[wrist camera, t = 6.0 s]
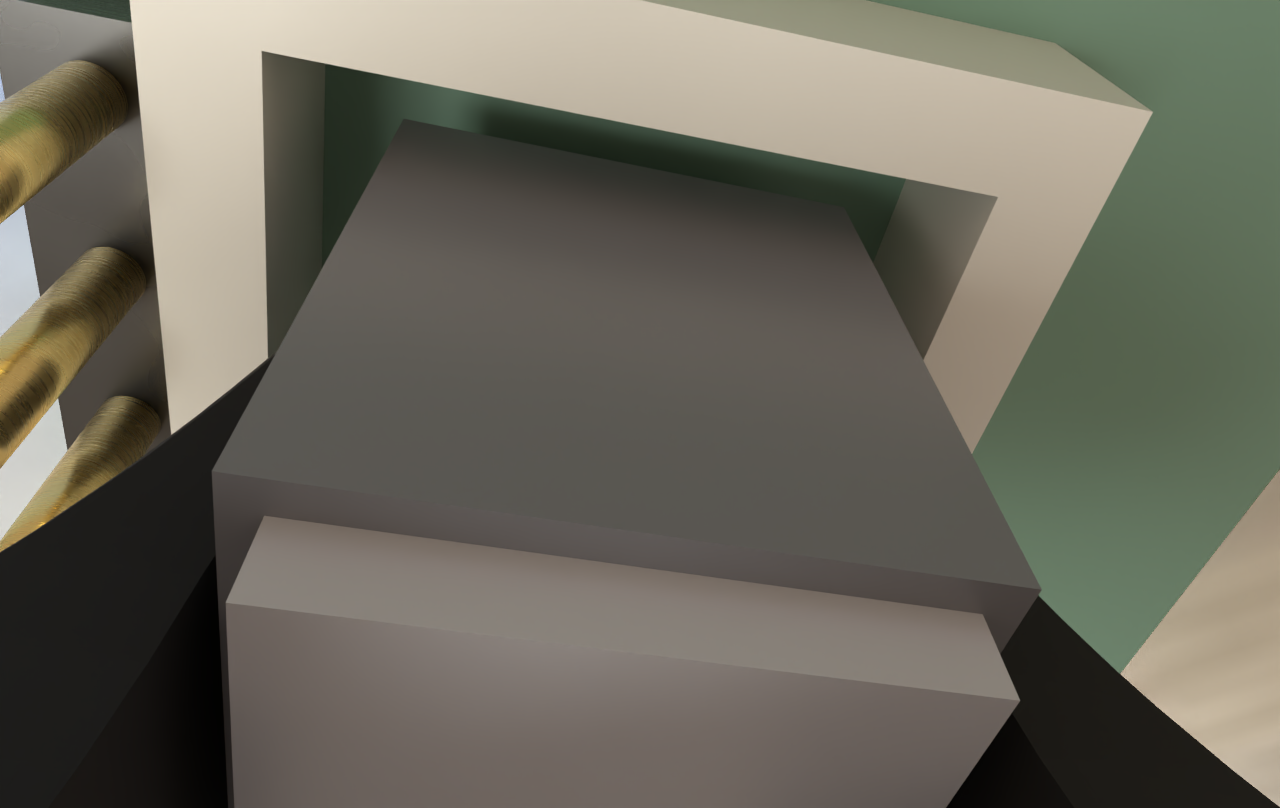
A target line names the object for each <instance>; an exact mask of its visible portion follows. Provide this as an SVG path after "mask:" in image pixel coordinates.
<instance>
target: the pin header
mask: <svg viewBox="0 0 1280 808" xmlns="http://www.w3.org/2000/svg"><path fill="white" fill-rule="evenodd" d="M0 73H1V79H2V84H3V90H4V95H5V100H4V101H2V102H1V103H0V224H1V223H2V222H3V221H4V220H5V219H7V218H8V217H9V216H10V215H12V214H13V213H14V212H15V211H16V210H18V209H19V208H20V207H21V206H22V205H24V208H25V213H26V219H27V225H28V230H29V236H30V242H31V247H32V253H33V258H34V264H35V270H36V275H37V281H38V287H39V292H40V298H39V299H38V300H37V301H36V302H35V303H34V304H33V305H32V306H31V307H30V308H29V309H28V310H27V311H26V312H25V313H24V314H23V315H22V316H21V317H20V318H19V319H18V320H17V321H16V322H15V323H14V324H13V325H12V326H11V327H10V328H9V329H8V330H7V331H6V332H5V333H4V334H3V335H2V336H1V337H0V468H1V467H2V466H3V465H4V463H5V462H6V461H7V460H8V459H9V457H10V456H11V455H12V454H13V452H14V451H15V450H16V449H17V447H18V446H19V445H20V444H21V443H22V441H23V440H24V439H25V438H26V436H27V435H28V434H29V433H30V432H31V430H32V429H33V428H34V427H35V425H36V424H37V423H38V422H39V421H40V419H41V418H42V417H43V416H44V414H45V413H46V412H47V411H48V410H49V408H50V407H51V406H52V405H53V403H54V402H55V401H56V400H57V399H59V405H60V410H61V416H62V421H63V427H64V433H65V438H66V444H67V449H68V451H67V452H66V453H65V455H64V456H63V458H62V459H61V460H60V462H59V463H58V464H57V466H56V467H55V468H54V470H53V471H52V472H51V474H50V475H49V476H48V478H47V479H46V480H45V482H44V483H43V484H42V486H41V487H40V488H39V490H38V491H37V492H36V494H35V495H34V497H33V498H32V499H31V501H30V502H29V503H28V505H27V506H26V507H25V509H24V510H23V511H22V513H21V514H20V515H19V517H18V518H17V519H16V521H15V522H14V523H13V525H12V526H11V527H10V529H9V530H8V531H7V533H6V534H5V535H4V537H3V538H2V540H1V541H0V552H1V551H3V550H4V549H6V548H7V547H9V546H11V545H12V544H14V543H16V542H17V541H19V540H20V539H22V538H24V537H25V536H27V535H28V534H30V533H31V532H33V531H35V530H36V529H38V528H39V527H41V526H42V525H44V524H45V523H47V522H48V521H50V520H51V519H53V518H54V517H56V516H57V515H58V514H60V513H61V512H63V511H64V510H66V509H67V508H69V507H70V506H72V505H73V504H75V503H76V502H78V501H79V500H81V499H82V498H84V497H85V496H87V495H88V494H90V493H91V492H93V491H94V490H96V489H97V488H99V487H100V486H102V485H103V484H105V483H106V482H107V481H109V480H110V479H112V478H113V477H115V476H116V475H118V474H119V473H121V472H122V471H123V470H125V469H126V468H128V467H129V466H130V465H132V464H133V463H135V462H136V461H137V460H139V459H140V458H141V457H143V456H144V455H145V454H147V453H148V452H149V451H151V450H152V449H153V448H155V447H156V446H157V445H159V444H160V443H161V442H163V441H164V440H165V439H167V438H168V437H169V436H171V427H170V416H169V406H168V395H167V385H166V375H165V364H164V354H163V343H162V333H161V323H160V312H159V302H158V291H157V281H156V270H155V260H154V250H153V239H152V229H151V218H150V208H149V197H148V187H147V177H146V166H145V156H144V145H143V135H142V124H141V114H140V104H139V93H138V83H137V72H136V62H135V51H134V41H133V31H132V20H131V10H130V0H0Z"/></svg>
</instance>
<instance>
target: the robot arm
mask: <svg viewBox="0 0 1280 808" xmlns="http://www.w3.org/2000/svg"><path fill="white" fill-rule="evenodd" d="M275 354H276V352H275V353H274V354H273V355H272V356H270V357H269V358H268V359H267V360H265V361H264V362H263V363H262V364H260V365H259V366H258V367H257V368H256V369H254V370H253V371H252V372H251V373H249V374H248V375H247V376H246V377H245V378H243V379H242V380H241V381H240V382H238V383H237V384H236V385H235V386H234V387H232V388H231V389H230V390H229V391H227V392H226V393H225V394H224V395H222V396H221V397H220V398H219V399H217V400H216V401H215V402H213V403H212V404H211V405H210V406H208V407H207V408H206V409H205V410H203V411H202V412H201V413H200V414H198V415H197V416H196V417H195V418H193V419H192V420H191V421H189V422H188V423H187V424H185V425H184V426H183V427H181V428H180V429H179V430H177V431H176V432H175V433H173V434H172V435H171V436H169V437H168V438H167V439H165V440H164V441H163V442H161V443H160V444H159V445H157V446H156V447H155V448H153V449H152V450H151V451H149V452H148V453H147V454H145V455H144V456H143V457H141V458H140V459H139V460H137V461H136V462H135V463H133V464H132V465H130V466H129V467H128V468H126V469H125V470H123V471H122V472H121V473H119V474H118V475H116V476H115V477H113V478H112V479H110V480H109V481H107V482H106V483H105V484H103V485H102V486H100V487H99V488H97V489H96V490H94V491H93V492H91V493H90V494H88V495H87V496H85V497H84V498H82V499H81V500H79V501H78V502H76V503H75V504H73V505H72V506H70V507H69V508H67V509H66V510H64V511H63V512H61V513H60V514H58V515H57V516H56V517H54V518H53V519H51V520H50V521H48V522H47V523H45V524H44V525H42V526H41V527H39V528H38V529H36V530H35V531H33V532H31V533H30V534H28V535H27V536H25V537H24V538H22V539H20V540H19V541H17V542H16V543H14V544H12V545H11V546H9V547H7V548H6V549H4V550H3V551H1V552H0V808H228V795H227V774H226V754H225V733H224V713H223V692H222V672H221V651H220V631H219V610H218V590H217V569H216V549H215V528H214V508H213V487H212V470H213V468H214V466H215V464H216V462H217V461H218V459H219V457H220V455H221V453H222V451H223V450H224V448H225V446H226V444H227V442H228V440H229V439H230V437H231V435H232V433H233V431H234V429H235V428H236V426H237V424H238V422H239V420H240V418H241V417H242V415H243V413H244V411H245V409H246V407H247V405H248V404H249V402H250V400H251V398H252V396H253V394H254V393H255V391H256V389H257V387H258V385H259V383H260V382H261V380H262V378H263V376H264V374H265V372H266V371H267V369H268V367H269V365H270V363H271V361H272V360H273V358H274V356H275ZM1000 655H1001V658H1002V660H1003V662H1004V664H1005V667H1006V669H1007V671H1008V674H1009V676H1010V678H1011V681H1012V683H1013V685H1014V688H1015V690H1016V692H1017V694H1018V697H1019V699H1020V702H1019V703H1018V705H1017V706H1016V707H1015V709H1014V710H1013V712H1012V713H1011V715H1010V716H1009V718H1008V719H1007V720H1006V722H1005V723H1004V725H1003V726H1002V728H1001V729H1000V731H999V732H998V733H997V735H996V736H995V738H994V739H993V741H992V742H991V743H990V745H989V746H988V748H987V749H986V751H985V752H984V754H983V755H982V756H981V758H980V759H979V761H978V762H977V764H976V765H975V767H974V768H973V769H972V771H971V772H970V774H969V775H968V777H967V778H966V779H965V781H964V782H963V784H962V785H961V787H960V788H959V790H958V791H957V792H956V794H955V795H954V797H953V798H952V800H951V801H950V803H949V804H948V805H947V807H946V808H1280V807H1279V806H1277V805H1276V804H1275V803H1274V802H1272V801H1271V800H1270V799H1268V798H1267V797H1266V796H1265V795H1263V794H1262V793H1261V792H1260V791H1258V790H1257V789H1256V788H1254V787H1253V786H1252V785H1251V784H1249V783H1248V782H1247V781H1245V780H1244V779H1243V778H1242V777H1240V776H1239V775H1238V774H1237V773H1235V772H1234V771H1233V770H1232V769H1230V768H1229V767H1228V766H1227V765H1226V764H1224V763H1223V762H1222V761H1221V760H1220V759H1218V758H1217V757H1216V756H1215V755H1214V754H1212V753H1211V752H1210V751H1209V750H1208V749H1206V748H1205V747H1204V746H1203V745H1202V744H1200V743H1199V742H1198V741H1197V740H1196V739H1195V738H1193V737H1192V736H1191V735H1190V734H1189V733H1187V732H1186V731H1185V730H1184V729H1183V728H1181V727H1180V726H1179V725H1178V724H1177V723H1175V722H1174V721H1173V720H1172V719H1171V718H1169V717H1168V716H1167V715H1166V714H1165V713H1164V712H1162V711H1161V710H1160V709H1159V708H1158V707H1156V706H1155V705H1154V704H1153V703H1152V702H1151V701H1150V700H1148V699H1147V698H1146V697H1145V696H1144V695H1143V694H1142V693H1141V692H1139V691H1138V690H1137V689H1136V688H1135V687H1134V686H1133V685H1132V684H1130V683H1129V682H1128V681H1127V680H1126V679H1125V678H1124V677H1123V676H1122V675H1121V674H1119V673H1118V672H1117V671H1116V670H1115V669H1114V668H1113V667H1112V666H1111V665H1110V664H1109V663H1108V662H1107V661H1106V660H1105V659H1104V658H1103V657H1101V656H1100V655H1099V654H1098V653H1097V652H1096V651H1095V650H1094V649H1093V648H1092V647H1091V646H1090V645H1089V644H1088V643H1087V642H1086V641H1085V640H1084V639H1083V638H1081V637H1080V636H1079V635H1078V634H1077V633H1076V632H1075V631H1074V630H1073V629H1072V628H1071V627H1070V626H1069V625H1068V624H1067V623H1066V622H1065V621H1064V620H1063V619H1062V618H1061V617H1060V616H1059V615H1058V614H1057V613H1056V612H1055V611H1054V610H1053V609H1052V608H1051V607H1050V606H1049V605H1048V604H1047V603H1046V602H1045V601H1044V600H1043V599H1042V598H1041V597H1040V596H1039V595H1038V596H1037V598H1036V600H1035V601H1034V603H1033V604H1032V606H1031V607H1030V609H1029V610H1028V612H1027V613H1026V615H1025V617H1024V618H1023V620H1022V621H1021V623H1020V624H1019V626H1018V627H1017V629H1016V630H1015V632H1014V634H1013V635H1012V637H1011V638H1010V640H1009V641H1008V643H1007V644H1006V646H1005V647H1004V649H1003V651H1002V652H1001V654H1000Z"/></svg>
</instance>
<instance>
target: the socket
mask: <svg viewBox="0 0 1280 808" xmlns="http://www.w3.org/2000/svg"><path fill="white" fill-rule="evenodd" d="M130 10H131V20H132V31H133V41H134V51H135V62H136V72H137V83H138V93H139V104H140V114H141V124H142V135H143V145H144V156H145V166H146V177H147V187H148V197H149V208H150V218H151V229H152V239H153V250H154V260H155V270H156V281H157V291H158V302H159V312H160V323H161V333H162V343H163V354H164V364H165V375H166V385H167V395H168V406H169V416H170V427H171V435H172V434H173V433H175V432H176V431H177V430H179V429H180V428H181V427H183V426H184V425H185V424H187V423H188V422H189V421H191V420H192V419H193V418H195V417H196V416H197V415H198V414H200V413H201V412H202V411H203V410H205V409H206V408H207V407H208V406H210V405H211V404H212V403H213V402H215V401H216V400H217V399H219V398H220V397H221V396H222V395H224V394H225V393H226V392H227V391H229V390H230V389H231V388H232V387H234V386H235V385H236V384H237V383H238V382H240V381H241V380H242V379H243V378H245V377H246V376H247V375H248V374H249V373H251V372H252V371H253V370H254V369H256V368H257V367H258V366H259V365H260V364H262V363H263V362H264V361H265V360H267V359H268V358H269V357H270V356H272V355H273V354H274V353H275V352H277V350H278V349H279V347H280V345H281V343H282V341H283V339H284V338H285V336H286V334H287V332H288V330H289V328H290V326H291V325H292V323H293V321H294V319H295V317H296V315H297V314H298V312H299V310H300V308H301V306H302V304H303V303H304V301H305V299H306V297H307V295H308V293H309V292H310V290H311V288H312V286H313V284H314V282H315V281H316V279H317V277H318V275H319V273H320V271H321V270H322V222H323V165H324V109H325V64H330V65H335V66H340V67H345V68H350V69H355V70H360V71H365V72H371V73H376V74H381V75H386V76H391V77H396V78H401V79H406V80H411V81H416V82H421V83H426V84H431V85H436V86H441V87H446V88H451V89H456V90H461V91H466V92H471V93H476V94H481V95H486V96H492V97H497V98H502V99H507V100H512V101H517V102H522V103H527V104H532V105H537V106H542V107H547V108H552V109H557V110H562V111H567V112H572V113H577V114H582V115H587V116H592V117H597V118H602V119H607V120H613V121H618V122H623V123H628V124H633V125H638V126H643V127H648V128H653V129H658V130H663V131H668V132H673V133H678V134H683V135H688V136H693V137H698V138H703V139H708V140H713V141H718V142H723V143H728V144H734V145H739V146H744V147H749V148H754V149H759V150H764V151H769V152H774V153H779V154H784V155H789V156H794V157H799V158H804V159H809V160H814V161H819V162H824V163H829V164H834V165H839V166H844V167H849V168H855V169H860V170H865V171H870V172H875V173H880V174H885V175H890V176H895V177H900V178H905V179H906V181H905V183H904V186H903V188H902V191H901V194H900V196H899V199H898V201H897V204H896V206H895V209H894V211H893V214H892V216H891V219H890V221H889V224H888V227H887V229H886V232H885V234H884V237H883V239H882V242H881V244H880V247H879V249H878V252H877V255H876V257H875V260H874V262H873V264H874V266H875V268H876V270H877V272H878V274H879V276H880V278H881V280H882V282H883V284H884V286H885V288H886V289H887V291H888V293H889V295H890V297H891V299H892V301H893V303H894V305H895V307H896V309H897V311H898V313H899V315H900V316H901V318H902V320H903V322H904V324H905V326H906V328H907V330H908V332H909V334H910V336H911V338H912V340H913V342H914V344H915V345H916V347H917V349H918V351H919V353H920V355H921V357H922V359H923V361H924V363H925V365H926V367H927V369H928V371H929V373H930V374H931V376H932V378H933V380H934V382H935V384H936V386H937V388H938V390H939V392H940V394H941V396H942V398H943V400H944V402H945V403H946V405H947V407H948V409H949V411H950V413H951V415H952V417H953V419H954V421H955V423H956V425H957V427H958V429H959V431H960V432H961V434H962V436H963V438H964V440H965V442H966V444H967V446H968V448H969V450H970V452H971V454H972V453H973V451H974V449H975V447H976V445H977V444H978V442H979V440H980V438H981V436H982V434H983V432H984V430H985V428H986V427H987V425H988V423H989V421H990V419H991V417H992V415H993V413H994V411H995V410H996V408H997V406H998V404H999V402H1000V400H1001V398H1002V396H1003V394H1004V393H1005V391H1006V389H1007V387H1008V385H1009V383H1010V381H1011V379H1012V377H1013V376H1014V374H1015V372H1016V370H1017V368H1018V366H1019V364H1020V362H1021V360H1022V359H1023V357H1024V355H1025V353H1026V351H1027V349H1028V347H1029V345H1030V343H1031V342H1032V340H1033V338H1034V336H1035V334H1036V332H1037V330H1038V328H1039V326H1040V325H1041V323H1042V321H1043V319H1044V317H1045V315H1046V313H1047V311H1048V309H1049V308H1050V306H1051V304H1052V302H1053V300H1054V298H1055V296H1056V294H1057V292H1058V291H1059V289H1060V287H1061V285H1062V283H1063V281H1064V279H1065V277H1066V275H1067V274H1068V272H1069V270H1070V268H1071V266H1072V264H1073V262H1074V260H1075V258H1076V257H1077V255H1078V253H1079V251H1080V249H1081V247H1082V245H1083V243H1084V241H1085V240H1086V238H1087V236H1088V234H1089V232H1090V230H1091V228H1092V226H1093V224H1094V223H1095V221H1096V219H1097V217H1098V215H1099V213H1100V211H1101V209H1102V207H1103V206H1104V204H1105V202H1106V200H1107V198H1108V196H1109V194H1110V192H1111V190H1112V189H1113V187H1114V185H1115V183H1116V181H1117V179H1118V177H1119V175H1120V173H1121V172H1122V170H1123V168H1124V166H1125V164H1126V162H1127V160H1128V158H1129V156H1130V155H1131V153H1132V151H1133V149H1134V147H1135V145H1136V143H1137V141H1138V139H1139V138H1140V136H1141V134H1142V132H1143V130H1144V128H1145V126H1146V124H1147V122H1148V121H1149V119H1150V117H1151V115H1152V113H1153V112H1152V111H1151V110H1150V109H1148V108H1147V107H1145V106H1144V105H1142V104H1141V103H1140V102H1138V101H1137V100H1135V99H1134V98H1133V97H1131V96H1130V95H1128V94H1127V93H1125V92H1124V91H1123V90H1121V89H1120V88H1118V87H1117V86H1115V85H1114V84H1113V83H1111V82H1110V81H1108V80H1107V79H1106V78H1104V77H1103V76H1101V75H1100V74H1098V73H1097V72H1096V71H1094V70H1093V69H1091V68H1090V67H1088V66H1087V65H1086V64H1084V63H1083V62H1081V61H1080V60H1079V59H1077V58H1076V57H1074V56H1073V55H1071V54H1070V53H1069V52H1067V51H1066V50H1064V49H1063V48H1062V47H1060V46H1059V45H1057V44H1056V43H1053V42H1048V41H1044V40H1040V39H1035V38H1031V37H1026V36H1022V35H1017V34H1013V33H1009V32H1004V31H1000V30H995V29H991V28H987V27H982V26H978V25H973V24H969V23H964V22H960V21H956V20H951V19H947V18H942V17H938V16H933V15H929V14H925V13H920V12H916V11H911V10H907V9H902V8H898V7H894V6H889V5H885V4H880V3H876V2H871V1H867V0H130Z"/></svg>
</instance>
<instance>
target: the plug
mask: <svg viewBox="0 0 1280 808" xmlns="http://www.w3.org/2000/svg"><path fill="white" fill-rule="evenodd" d="M212 487H213V508H214V528H215V549H216V569H217V590H218V610H219V631H220V651H221V672H222V692H223V713H224V733H225V754H226V774H227V795H228V808H946V807H947V805H948V804H949V803H950V801H951V800H952V798H953V797H954V795H955V794H956V792H957V791H958V790H959V788H960V787H961V785H962V784H963V782H964V781H965V779H966V778H967V777H968V775H969V774H970V772H971V771H972V769H973V768H974V767H975V765H976V764H977V762H978V761H979V759H980V758H981V756H982V755H983V754H984V752H985V751H986V749H987V748H988V746H989V745H990V743H991V742H992V741H993V739H994V738H995V736H996V735H997V733H998V732H999V731H1000V729H1001V728H1002V726H1003V725H1004V723H1005V722H1006V720H1007V719H1008V718H1009V716H1010V715H1011V713H1012V712H1013V710H1014V709H1015V707H1016V706H1017V705H1018V703H1019V702H1020V699H1019V697H1018V694H1017V692H1016V690H1015V688H1014V685H1013V683H1012V681H1011V678H1010V676H1009V674H1008V671H1007V669H1006V667H1005V664H1004V662H1003V660H1002V658H1001V655H1000V654H1001V652H1002V651H1003V649H1004V647H1005V646H1006V644H1007V643H1008V641H1009V640H1010V638H1011V637H1012V635H1013V634H1014V632H1015V630H1016V629H1017V627H1018V626H1019V624H1020V623H1021V621H1022V620H1023V618H1024V617H1025V615H1026V613H1027V612H1028V610H1029V609H1030V607H1031V606H1032V604H1033V603H1034V601H1035V600H1036V598H1037V596H1038V595H1039V593H1040V592H1041V590H1042V589H1041V587H1040V585H1039V583H1038V581H1037V579H1036V577H1035V575H1034V574H1033V572H1032V570H1031V568H1030V566H1029V564H1028V562H1027V560H1026V558H1025V556H1024V554H1023V552H1022V550H1021V548H1020V546H1019V545H1018V543H1017V541H1016V539H1015V537H1014V535H1013V533H1012V531H1011V529H1010V527H1009V525H1008V523H1007V521H1006V519H1005V517H1004V516H1003V514H1002V512H1001V510H1000V508H999V506H998V504H997V502H996V500H995V498H994V496H993V494H992V492H991V490H990V489H989V487H988V485H987V483H986V481H985V479H984V477H983V475H982V473H981V471H980V469H979V467H978V465H977V463H976V461H975V460H974V458H973V456H972V454H971V452H970V450H969V448H968V446H967V444H966V442H965V440H964V438H963V436H962V434H961V432H960V431H959V429H958V427H957V425H956V423H955V421H954V419H953V417H952V415H951V413H950V411H949V409H948V407H947V405H946V403H945V402H944V400H943V398H942V396H941V394H940V392H939V390H938V388H937V386H936V384H935V382H934V380H933V378H932V376H931V374H930V373H929V371H928V369H927V367H926V365H925V363H924V361H923V359H922V357H921V355H920V353H919V351H918V349H917V347H916V345H915V344H914V342H913V340H912V338H911V336H910V334H909V332H908V330H907V328H906V326H905V324H904V322H903V320H902V318H901V316H900V315H899V313H898V311H897V309H896V307H895V305H894V303H893V301H892V299H891V297H890V295H889V293H888V291H887V289H886V288H885V286H884V284H883V282H882V280H881V278H880V276H879V274H878V272H877V270H876V268H875V266H874V264H873V262H872V260H871V259H870V257H869V255H868V253H867V251H866V249H865V247H864V245H863V243H862V241H861V239H860V237H859V235H858V233H857V231H856V230H855V228H854V226H853V224H852V222H851V220H850V218H849V216H848V214H847V212H846V210H845V208H844V207H841V206H836V205H831V204H826V203H821V202H816V201H811V200H806V199H801V198H796V197H791V196H786V195H781V194H776V193H771V192H766V191H761V190H756V189H751V188H746V187H741V186H736V185H731V184H726V183H721V182H716V181H711V180H706V179H701V178H696V177H691V176H686V175H681V174H676V173H671V172H666V171H661V170H657V169H652V168H647V167H642V166H637V165H632V164H627V163H622V162H617V161H612V160H607V159H602V158H597V157H592V156H587V155H582V154H577V153H572V152H567V151H562V150H557V149H552V148H547V147H542V146H537V145H532V144H527V143H522V142H517V141H512V140H507V139H502V138H497V137H492V136H487V135H482V134H477V133H472V132H468V131H463V130H458V129H453V128H448V127H443V126H438V125H433V124H428V123H423V122H418V121H413V120H408V119H403V121H402V123H401V124H400V126H399V128H398V130H397V132H396V134H395V135H394V137H393V139H392V141H391V143H390V145H389V146H388V148H387V150H386V152H385V154H384V156H383V157H382V159H381V161H380V163H379V165H378V167H377V168H376V170H375V172H374V174H373V176H372V178H371V180H370V181H369V183H368V185H367V187H366V189H365V191H364V192H363V194H362V196H361V198H360V200H359V202H358V203H357V205H356V207H355V209H354V211H353V213H352V214H351V216H350V218H349V220H348V222H347V224H346V225H345V227H344V229H343V231H342V233H341V235H340V236H339V238H338V240H337V242H336V244H335V246H334V247H333V249H332V251H331V253H330V255H329V257H328V259H327V260H326V262H325V264H324V266H323V268H322V270H321V271H320V273H319V275H318V277H317V279H316V281H315V282H314V284H313V286H312V288H311V290H310V292H309V293H308V295H307V297H306V299H305V301H304V303H303V304H302V306H301V308H300V310H299V312H298V314H297V315H296V317H295V319H294V321H293V323H292V325H291V326H290V328H289V330H288V332H287V334H286V336H285V338H284V339H283V341H282V343H281V345H280V347H279V349H278V350H277V352H276V354H275V356H274V358H273V360H272V361H271V363H270V365H269V367H268V369H267V371H266V372H265V374H264V376H263V378H262V380H261V382H260V383H259V385H258V387H257V389H256V391H255V393H254V394H253V396H252V398H251V400H250V402H249V404H248V405H247V407H246V409H245V411H244V413H243V415H242V417H241V418H240V420H239V422H238V424H237V426H236V428H235V429H234V431H233V433H232V435H231V437H230V439H229V440H228V442H227V444H226V446H225V448H224V450H223V451H222V453H221V455H220V457H219V459H218V461H217V462H216V464H215V466H214V468H213V470H212Z"/></svg>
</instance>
